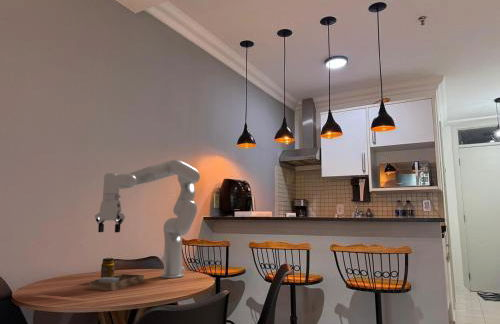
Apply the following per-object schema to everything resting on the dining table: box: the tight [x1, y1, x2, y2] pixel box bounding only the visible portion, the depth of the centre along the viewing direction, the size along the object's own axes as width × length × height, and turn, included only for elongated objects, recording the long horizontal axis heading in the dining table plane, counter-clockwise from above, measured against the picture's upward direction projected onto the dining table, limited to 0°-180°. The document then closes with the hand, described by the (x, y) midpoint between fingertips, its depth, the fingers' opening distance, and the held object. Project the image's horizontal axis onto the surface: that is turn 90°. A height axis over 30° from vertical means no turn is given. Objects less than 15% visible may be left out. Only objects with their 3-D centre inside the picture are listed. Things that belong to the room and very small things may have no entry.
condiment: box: [100, 257, 115, 278], centre depth 178 cm, size 7×8×12 cm
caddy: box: [88, 273, 145, 291], centre depth 168 cm, size 22×13×4 cm, turn 161°
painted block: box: [98, 277, 119, 283], centre depth 163 cm, size 4×8×4 cm, turn 71°
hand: (109, 232), depth 178 cm, fingers open, 9 cm apart
